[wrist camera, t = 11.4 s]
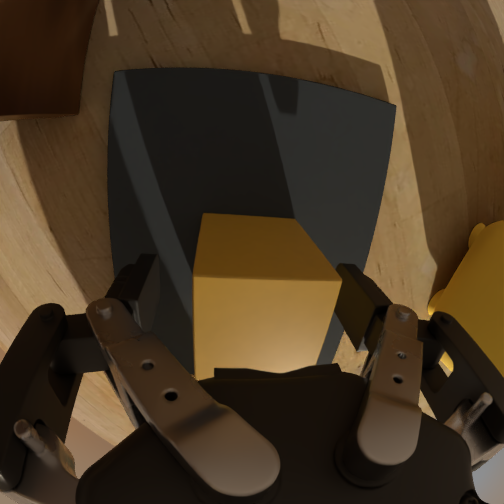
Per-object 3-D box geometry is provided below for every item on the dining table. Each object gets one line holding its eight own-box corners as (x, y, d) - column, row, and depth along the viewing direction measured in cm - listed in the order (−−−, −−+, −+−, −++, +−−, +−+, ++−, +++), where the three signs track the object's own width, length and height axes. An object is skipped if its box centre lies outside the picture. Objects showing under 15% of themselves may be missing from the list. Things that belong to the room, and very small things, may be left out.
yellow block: (202, 212, 13) (192, 274, 8) (295, 218, 14) (343, 279, 8) (200, 293, 15) (194, 380, 10) (282, 296, 16) (311, 377, 10)
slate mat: (117, 72, 10) (113, 70, 10) (390, 105, 12) (396, 105, 12) (134, 363, 17) (132, 369, 17) (326, 365, 19) (328, 371, 19)
